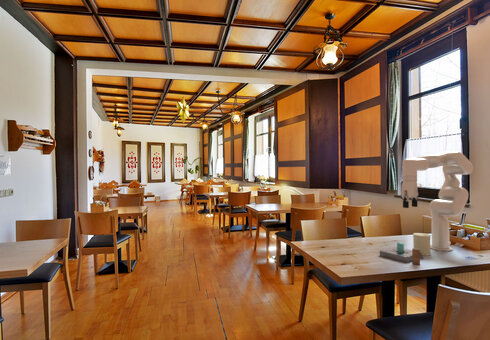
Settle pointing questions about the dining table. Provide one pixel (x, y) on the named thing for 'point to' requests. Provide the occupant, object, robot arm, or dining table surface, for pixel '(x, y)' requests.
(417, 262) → the walnut peg
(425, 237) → the can
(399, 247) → the teal peg
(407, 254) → the socket plate
